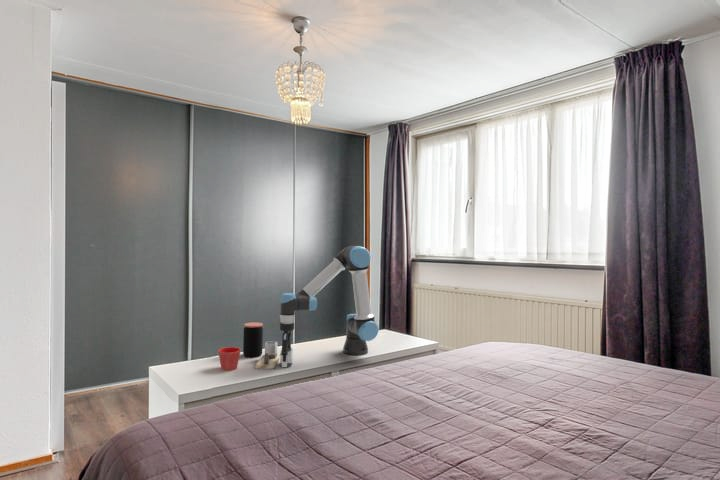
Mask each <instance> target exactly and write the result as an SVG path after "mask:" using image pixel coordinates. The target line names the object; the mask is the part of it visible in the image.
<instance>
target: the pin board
mask: <svg viewBox="0 0 720 480" xmlns="http://www.w3.org/2000/svg"><path fill="white" fill-rule="evenodd" d="M279 363H280V354H279V355H278V354H277V357H276V358H275V359H269V355H268V353H265V352H264V354H263V355H261V356H260V358H259V360H258V361H257V362H256V364H255V366H254V369H257V368H270V370H275V369H274V368H277V366H278V364H279ZM271 368H273V369H271Z"/></svg>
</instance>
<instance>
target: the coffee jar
mask: <svg viewBox="0 0 720 480" xmlns="http://www.w3.org/2000/svg"><path fill="white" fill-rule="evenodd" d="M263 325H264V324H263V323H262V322H254V321H253V322H246V323H244V324H243V326H244V328H243V338H242V339H243V342H242V343H243V346H242V354H243V356H244V357H245V358H248V357H249V359H250V358H251V359H254V357H255V358H259V357H262V354H263V339H264V337H263V335H264V328H263V327H264V326H263Z"/></svg>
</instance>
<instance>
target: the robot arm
mask: <svg viewBox="0 0 720 480" xmlns="http://www.w3.org/2000/svg"><path fill="white" fill-rule="evenodd" d="M371 257H372V256H371V253H370V251H369V250H368V249H367V248H366V247H363V246H361V245H348V246H346V247H345V248H343V249H342V250H340V252H339V253H338V254H337V255H335V256H334V257H333V260H332V261H331V262H330V263H329V264H328V265H327V266H326V267H325V268H324V269H322V271H321V272H319V273H318V274H317V275H316V276H315V277H314V278H313V279H312V280H311V281H310V282H309V283H307V284H306V285H305V286H304V287H303V288H301V289H300V291H299V292H296V293H293V292H284V293H282V294H281V297H280V315H279V316H278V317H279V318H280V319H279V321H280V323H279V330H280V331H283V333H282V335H281V336H282V341H281V342H282V343H281V349H282V353H281V355H282V367H287V350H288V349H293V348H292V343H291V342H292V331H294V330H295V319H296V318H295V315H296V313H295V312H300V311H301V312H305V311H306V312H311V311H316V310H317V309H318V308H317V307H318V299H317V297H316V295H317V294H318V293H319V292H320V291H322V289H323V288H324V287H325V286H327V285H328V284H329V283H330V282H331V281H332V280H334V278H335V277H336V276H338V275H339V273H341V272H342V271H345V270H346V269H348V272H349V273H350V274H351V280H352V287H353V297H354V306H355V313H350V314H347V315H346V332H345V335H346V336H345V338H346V339H345V342H344V344H343V347H342V353H344V354H346V355H351V356H361V355H362V356H363V355H367V354H368V353H369V347H368V344H367V342H371V341H373V340H375V338H376V337H377V336H378V333H379V331H380V330H379V325H378V324H377V323H376V321H375V315H374V313H372V309H371V301H370V299H371V298H370V292H369V284H368V283H369V282H368V275H367V274H368V273H367V272H368V271H369V264H370V263H371V260H372V259H371ZM283 352H285V353H283ZM282 367H281V368H282ZM287 368H288V367H287Z"/></svg>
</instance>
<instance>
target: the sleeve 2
mask: <svg viewBox="0 0 720 480" xmlns="http://www.w3.org/2000/svg"><path fill="white" fill-rule="evenodd" d="M293 351H294V349H293V348H292V349H288V350H287V366H291V365H292V366H293ZM279 352H280V353H279V355H280V361H279V367H280V366H282V355H281V353H282V348H281V350H280V351H279ZM283 353H285V352H283ZM292 366H291V367H292Z"/></svg>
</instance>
